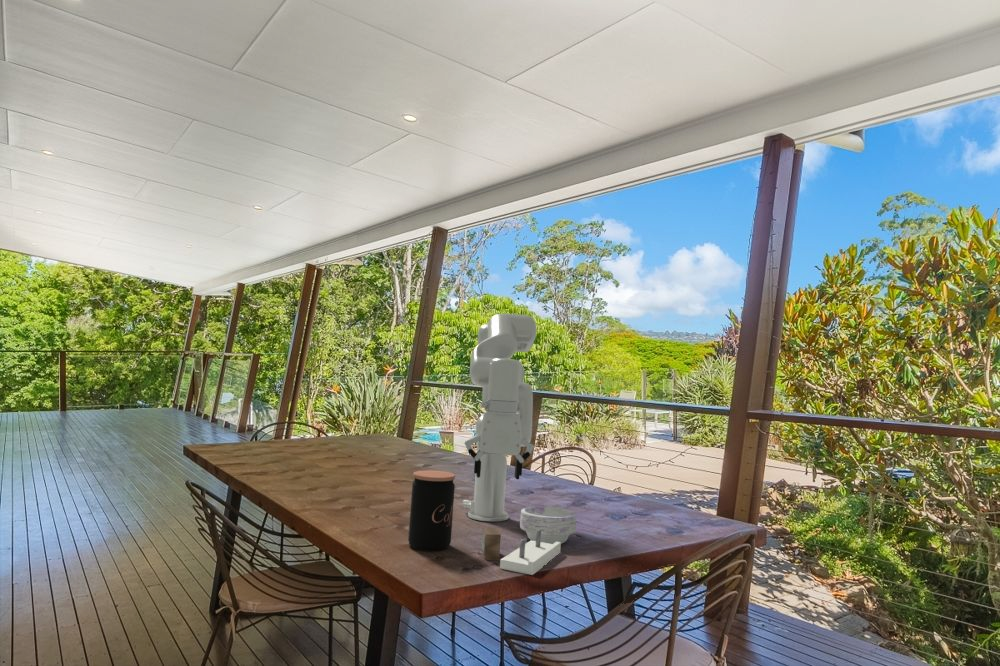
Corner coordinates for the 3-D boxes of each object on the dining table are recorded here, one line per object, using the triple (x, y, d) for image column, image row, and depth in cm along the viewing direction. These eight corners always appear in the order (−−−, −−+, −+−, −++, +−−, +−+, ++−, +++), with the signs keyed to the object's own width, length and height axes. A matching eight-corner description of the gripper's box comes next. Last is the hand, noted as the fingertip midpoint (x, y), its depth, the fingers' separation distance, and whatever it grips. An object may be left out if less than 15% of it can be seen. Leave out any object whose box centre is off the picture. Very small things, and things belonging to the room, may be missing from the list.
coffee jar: (432, 555, 149) (438, 479, 150) (398, 546, 154) (404, 472, 155) (458, 546, 158) (463, 474, 159) (425, 537, 163) (430, 468, 164)
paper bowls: (533, 530, 179) (534, 502, 179) (583, 539, 172) (584, 510, 172) (509, 541, 166) (511, 511, 166) (562, 552, 158) (564, 520, 159)
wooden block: (483, 559, 148) (485, 534, 148) (481, 551, 155) (483, 526, 155) (499, 560, 148) (501, 534, 148) (496, 551, 155) (498, 527, 155)
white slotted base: (499, 568, 142) (501, 541, 142) (530, 548, 160) (532, 524, 160) (532, 575, 138) (534, 547, 139) (560, 553, 157) (561, 529, 157)
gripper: (468, 406, 150) (463, 478, 148) (538, 410, 152) (534, 481, 150) (466, 405, 157) (461, 473, 156) (533, 409, 159) (529, 476, 158)
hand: (497, 477), depth 153 cm, fingers open, 9 cm apart
